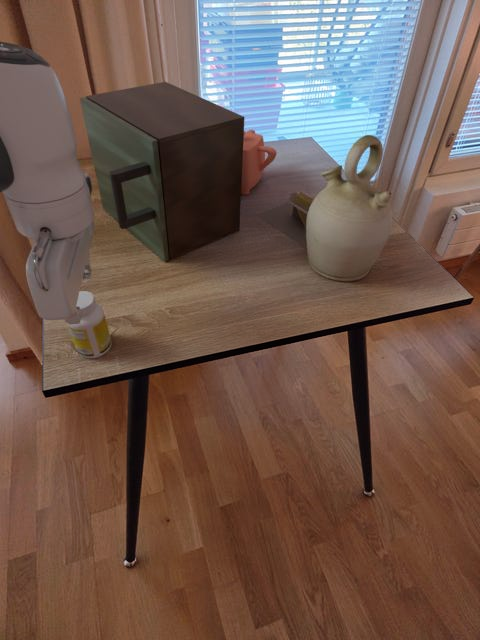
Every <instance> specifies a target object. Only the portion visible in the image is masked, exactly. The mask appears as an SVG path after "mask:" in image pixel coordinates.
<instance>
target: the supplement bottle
mask: <svg viewBox="0 0 480 640" xmlns="http://www.w3.org/2000/svg"><path fill="white" fill-rule="evenodd" d="M95 298H96V297H95V295H94V293H92V292H90V291H86V290H80V292H79V296H78V300H77V304H76V307H80V310H81V313H82V317H81V321H80V323H79V324H67V323H66V326H67V328H68V331H69V335H70V337H71V340H72V342H73V346H74V348H75V350H76V352H77V354H78V355H79V356H80V357H82V358H85V359H96V358H99V357H102V356H104V355H105V354H106V353H109V351H110V349H111V347H112V344H113V343H112V338H111V334H110V330H109V327H108V322H107V319H106V315H105V312H104V309H103V307H102V306H101V305H100V304H99V303H97V301H96V299H95Z"/></svg>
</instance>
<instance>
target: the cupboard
mask: <svg viewBox="0 0 480 640" xmlns="http://www.w3.org/2000/svg"><path fill="white" fill-rule="evenodd" d="M85 98H87V99H88V100H90V101H92V102H93V103H95V104H97V105H98V106H100V107H102V108H103V109H105V110H107V111H109V112H110V113H112V114H114V115H115V116H117V117H119V118H120V119H122V120H124V121H126V122H127V123H129V124H131V125H132V126H134V127H136V128H137V129H139V130H141V131H142V132H144V133H146V134H148V135H149V136H151V137H153V138H154V139H156V140H157V141H158V151H159V162H160V172H161V182H162V192H163V202H164V213H165V223H166V233H167V243H168V253H169V261H172V260H175V259H177V258H179V257H182V256H184V255H187V254H188V253H191V252H193V251H196V250H198V249H200V248H203V247H205V246H207V245H210V244H212V243H214V242H216V241H219V240H222V239H224V238H226V237H228V236H231V235H233V234H235V233H238V232H240V230H241V229H240V227H241V206H242V194H241V186H242V163H243V141H244V131H245V116H243V115H241V114H239V113H237V112H234V111H232V110H230V109H228V108H226V107H224V106H221V105H219V104H217V103H215V102H212V101H210V100H207V99H206V98H203V97H200V96H199V95H197V94H195V93H193V92H190V91H187V90H186V89H183V88H181V87H178V86H176V85H174V84H173V83H169V82H167V81H161V82H156V83H151V84H145V85H140V86H139V85H138V86H135V87H128V88H124V89H117V90H112V91H108V92H106V91H105V92H100V93H96V94H90V95H89V94H88V95H85Z"/></svg>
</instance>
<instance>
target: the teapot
mask: <svg viewBox="0 0 480 640" xmlns="http://www.w3.org/2000/svg"><path fill="white" fill-rule="evenodd" d="M266 153H267V157H266ZM276 157H277V150H276V149H275V148H273V147H271V146H265V142H264V136H263V135H262V134H259V133H256V131H255V130H254V129H248V130H247V131H245V130H244V141H243V163H242V186H241V195H244V196H245V195H246V196H247V195H249V194H250V190H251V189H253V188H254V187H255V186H256V185H257V184H258V183H259V181H260V180H261V178H262V176H263V174H264V171H265V168H267V167H268V166H269V165H270V164H272V163H273V162H274V160H275V159H276Z"/></svg>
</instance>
